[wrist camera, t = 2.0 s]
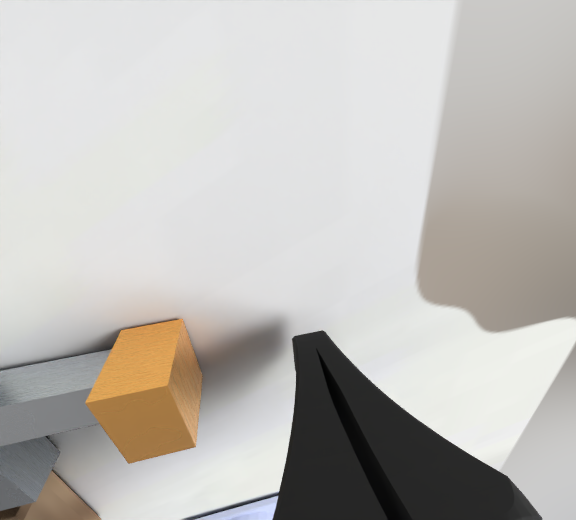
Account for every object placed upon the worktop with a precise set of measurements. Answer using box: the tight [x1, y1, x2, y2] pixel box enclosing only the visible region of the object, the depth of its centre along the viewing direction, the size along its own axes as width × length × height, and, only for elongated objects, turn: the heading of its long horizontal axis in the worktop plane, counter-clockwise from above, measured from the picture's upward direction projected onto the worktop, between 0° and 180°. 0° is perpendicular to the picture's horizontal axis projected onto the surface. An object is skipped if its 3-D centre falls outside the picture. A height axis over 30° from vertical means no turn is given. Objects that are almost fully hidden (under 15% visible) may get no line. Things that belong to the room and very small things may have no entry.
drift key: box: [0, 319, 203, 463], centre depth 10 cm, size 8×4×3 cm, turn 94°
